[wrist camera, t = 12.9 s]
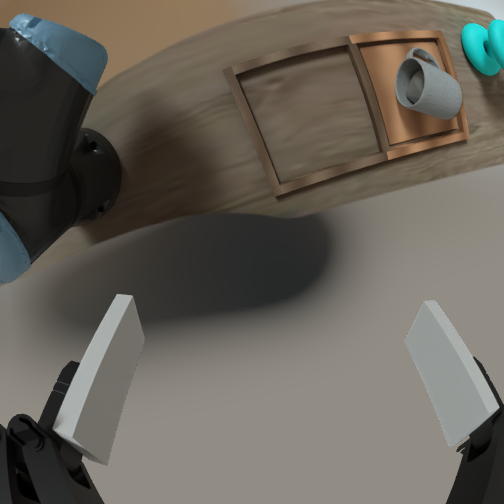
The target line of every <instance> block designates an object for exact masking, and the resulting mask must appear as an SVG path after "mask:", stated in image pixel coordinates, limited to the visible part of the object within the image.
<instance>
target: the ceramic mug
mask: <svg viewBox="0 0 504 504" xmlns="http://www.w3.org/2000/svg"><path fill="white" fill-rule="evenodd" d="M413 53H415V54H417V55H419V56H421V57H423V58H424V59H426V60H427V61H428V62H429V63H430V64H428V63H426V62H424V61H422V60H420V59H418V58H415V57H413ZM395 92H396V96H397V99H398V101H399V103H400V104H401V105H402V106H404V107H405V108H408V109H411V110H415V111H418V112H421V113H424V114H428V115H431V116H434V117H436V118H439V119H446V120H447V119H452V118H454V117H455V116H457V115H458V113H459V112H460V110H461V108H462V105H463V92H462V89H461V86H460V84H459V83H458V82H457V81H456V80H455V79H454V78H453V77H452V76H451V75H449V74H448V73H446V72H444V71H442V70H441V68H440V66H439V64H438V62H437V61H436V60H435V58H434V57H433V56H432V55H431V54H429V53H428V52H427V51H425V50H423V49H421V48H418V47H415V48H412V49H411V50H410V51H409V52H408V53H407V55H406V59H405V60H404V61H403V62H402V63H401V64H400V66H399V68H398V70H397V73H396V79H395Z"/></svg>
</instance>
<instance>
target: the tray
mask: <svg viewBox="0 0 504 504" xmlns="http://www.w3.org/2000/svg"><path fill="white" fill-rule="evenodd" d="M426 38H435V40H436V42H437V45H438V48H439V51H440V54H441V57H442V60H443V63H444V66H445V69H446V73H448V74H449V75H451V76H452V77H453V78H454V79H455V80H456V81H457V82H458V79H457V75H456V72H455V68H454V65H453V62H452V58H451V55H450V52H449V49H448V47H447V44H446V41H445V38H444V36H443V33H442V31H391V32H378V33H368V34H360V35H353V36H346V37H340V38H334V39H328V40H323V41H318V42H314V43H309V44H305V45H300V46H296V47H292V48H289V49H285V50H281V51H278V52H274V53H271V54H268V55H264V56H261V57H258V58H255V59H252V60H249V61H246V62H243V63H240V64H238V65H235V66H232V67H230V68H227V69H224V70H222V71H223V73H224V75H225V77H226V79H227V82H228V84H229V86H230V89H231V91H232V93H233V95H234V98H235V100H236V102H237V105H238V107H239V109H240V112H241V114H242V117H243V119H244V121H245V124H246V126H247V128H248V131H249V133H250V136H251V138H252V141H253V143H254V146H255V148H256V151H257V153H258V156H259V158H260V161H261V163H262V166H263V168H264V171H265V173H266V176H267V178H268V181H269V184H270V186H271V189H272V191H273V194H274V197H276V196H279V195H281V194H284V193H287V192H290V191H293V190H296V189H299V188H302V187H305V186H308V185H311V184H314V183H317V182H320V181H323V180H326V179H329V178H332V177H335V176H338V175H341V174H344V173H347V172H351V171H354V170H357V169H360V168H363V167H367V166H370V165H373V164H377V163H380V162H383V161H387V160H390V159H394V158H397V157H401V156H404V155H408V154H411V153H415V152H419V151H422V150H426V149H430V148H433V147H437V146H441V145H445V144H449V143H453V142H457V141H461V140H465V139H469V131H468V125H467V119H466V114H465V108H464V104H463V105H462V108H461V110H460V112H459V113H458V115H457V119H458V124H459V130H460V131H459V132H454V133H450V134H446V135H441V136H437V137H433V138H429V139H425V140H421V141H417V142H413V143H409V144H406V145H402V146H398V147H394V148H391V149H390V148H389V145H391V144H395V143H399V142H403V141H406V140H410V139H414V138H418V137H422V136H426V135H431V134H435V133H439V132H444V131H448V130H453V129H457V128H458V126H457V121H456V116H455V117H454V118H452V119H447V120H446V119H439V118H436V117H434V116H431V115H428V114H424V113H421V112H418V111H415V110H411V109H408V108H405V107H404V106H402V105H401V104H400V103H399V101H398V99H397V96H396V92H395V79H396V73H397V70H398V68H399V66H400V64H401V63H402V62H403V61H404V60H405V59H406V55H407V53H408V52H409V51H410V50H411V49H412V48H415V47H418V48H421V49H423V50H425V51H427V52H428V53H429V54H431V55H432V56H433V57H434V58H435V60H436V61H437V62H438V64H439V66H440V68H441V70H442V71H444V67H443V64H442V61H441V58H440V55H439V52H438V49H437V46H436V44H435V42H412V43H396V44H385V45H376V46H368V47H361V48H359V49H358V46H357V44H361V43H369V42H377V41H387V40H400V39H426ZM342 46H346V49H347V51H348V53H349V56H350V58H351V61H352V63H353V66H354V69H355V71H356V74H357V77H358V80H359V82H360V85H361V88H362V91H363V94H364V97H365V100H366V104H367V107H368V110H369V113H370V117H371V120H372V124H373V127H374V131H375V135H376V139H377V143H378V147H379V151H380V152H377V153H373V154H370V155H366V156H363V157H360V158H356V159H353V160H350V161H346V162H343V163H340V164H337V165H334V166H330V167H327V168H324V169H321V170H318V171H315V172H312V173H309V174H306V175H303V176H300V177H297V178H294V179H291V180H288V181H285V182H282V183H280V184H279V182H278V179H277V177H276V174H275V171H274V169H273V166H272V163H271V161H270V158H269V156H268V153H267V150H266V148H265V145H264V143H263V140H262V138H261V135H260V133H259V130H258V128H257V125H256V123H255V121H254V118H253V116H252V113H251V111H250V109H249V106H248V104H247V101H246V99H245V97H244V94H243V92H242V90H241V87H240V85H239V83H238V81H237V78H236V75H239V74H242V73H245V72H247V71H250V70H253V69H256V68H259V67H262V66H265V65H269V64H272V63H275V62H278V61H282V60H285V59H289V58H293V57H296V56H300V55H304V54H309V53H313V52H317V51H322V50H327V49H332V48H337V47H342ZM360 53H361V54H360ZM413 57H415V58H418V59H420V60H422V61H424V62H426V63H428V64H430V63H429V62H428V61H427V60H426V59H424V58H423V57H421V56H419V55H417V54H415V53H413ZM362 58H363V59H362ZM363 61H364V62H363ZM365 66H366V67H365ZM366 69H367V70H366ZM444 72H445V71H444ZM368 74H369V75H368ZM369 77H370V78H369ZM370 80H371V81H370ZM371 83H372V84H371ZM458 83H459V82H458ZM372 86H373V87H372ZM373 89H374V90H373ZM374 92H375V93H374ZM375 95H376V96H375ZM377 102H378V103H377ZM378 105H379V106H378ZM379 108H380V109H379ZM380 112H381V113H380ZM381 115H382V116H381ZM382 119H383V120H382ZM383 123H384V124H383ZM385 130H386V131H385ZM386 134H387V135H386ZM387 138H388V139H387ZM388 143H389V144H388Z"/></svg>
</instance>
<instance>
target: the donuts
mask: <svg viewBox="0 0 504 504" xmlns="http://www.w3.org/2000/svg"><path fill="white" fill-rule="evenodd" d="M461 38H462V44H463V48H464V51H465V53H466V55H467V57H468V59H469V60H470V62H471V63H472V65H473V66H474V67H475V68H476V69H477V70H478V71H480V72H481V73H483V74H485V75H489V76H492V75H495V74H497V73H498V72H499V70H500V68H501V67H502V69H503V70H504V21H502V20H494V21H492V22H491V23H490V25H489V27H488V31H487V30H486V29H485V28H484V27H482V26H480V25H478V24H474V23H470V24H467V25H466V26H465V27H464V28H463V30H462V35H461ZM483 45H484V46H485V49H486V52H487V53H486V52H485V49H484V46H483Z"/></svg>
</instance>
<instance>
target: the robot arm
mask: <svg viewBox="0 0 504 504" xmlns="http://www.w3.org/2000/svg"><path fill="white" fill-rule="evenodd" d="M9 26H10V28H0V283H10V282H12V281H14V280H15V279H16V278H18V277H19V276H20V275H21V274H23V273H24V272H25V271H27V270H28V269H29V268H30V266H31V264H32V263H33V262H34V261H35V260H36V259H37V258H38V257H39V256H40V255H41V254H42V253H43V252H45V251H46V250H47V249H48V248H49V247H50V246H51V245H52V244H53V243H54V242H55V241H56V240H57V239H58V238H59V237H61V236H62V235H63V234H64V233H65V232H66V231H67V230H68V229H70V228H72V227H76V226H80V225H84V224H89V223H91V222H94V221H96V220H97V219H99V218H100V217H101V216H103V215H104V214H105V213H106V212H107V211H108V210H109V209H110V208H111V207H112V205H113V204H114V202H115V200H116V198H117V196H118V193H119V189H120V182H121V172H120V165H119V161H118V158H117V155H116V153H115V151H114V149H113V147H112V146H111V144H110V143H109V142H108V140H107V139H106V138H105V137H104V136H102V135H101V134H100V133H98V132H96V131H94V130H91V129H88V128H81V126H82V123H83V121H84V118H85V115H86V113H87V110H88V108H89V106H90V103H91V101H92V99H93V96H95V95H96V92H97V91H96V88H97V86H98V83H99V81H100V78H101V76H102V74H103V71H104V69H105V67H106V64H107V61H108V54H107V51H106V49H105V48H104V46H102V45H101V44H100V43H98V42H96V41H95V40H93V39H91V38H89V37H87V36H86V35H83V34H81V33H79V32H77V31H75V30H72V29H70V28H68V27H66V26H63V25H60V24H58V23H55V22H52V21H49V20H43V19H42V18H37V17H34V16H32V15H27V14H19V15H17V16H16V17H15V18H14V19H13V20H12V21H11V22H10V24H9ZM144 343H145V337H144V334H143V331H142V328H141V324H140V321H139V317H138V313H137V309H136V306H135V302H134V298H133V296H132V295H121V294H117V295H116V297H115V299H114V301H113V302H112V304H111V306H110V308H109V309H108V311H107V313H106V315H105V317H104V318H103V320H102V322H101V324H100V326H99V328H98V330H97V331H96V333H95V335H94V337H93V339H92V341H91V343H90V345H89V347H88V349H87V351H86V353H85V355H84V357H83V359H82V361H81V363H78V362H74V361H70V362H69V363H68V364H67V365H66V366H65V367H64V368H63V369H62V371H61V373H60V375H59V377H58V379H57V383H55V385H54V388H53V391H52V392H51V394H50V396H49V399H48V401H47V403H46V405H45V408H44V410H43V412H42V415H41V417H40V420H39V421H38V423H36V422H35V421H34V420H33V419H32V418H31V417H30V416H28V415H26V414H17V415H16V416H14V417H13V418H12V419H11V420H10V421H9V424H8V427H7V429H5V428H4V427H3V426H2V425H1V424H0V504H104V502H103V500H102V498H101V497H100V495H99V493H98V491H97V489H96V488H95V486H94V484H93V482H92V480H91V478H90V476H89V474H88V472H87V470H86V468H85V466H84V464H83V462H82V461H81V460H82V456H83V455H84V456H85V457H87V458H88V459H89V460H91V461H94V462H97V463H100V464H103V465H106V466H107V465H108V461H109V457H110V453H111V448H112V445H113V441H114V438H115V434H116V430H117V427H118V423H119V419H120V416H121V413H122V409H123V406H124V403H125V399H126V396H127V393H128V390H129V387H130V384H131V381H132V378H133V375H134V371H135V368H136V366H137V362H138V360H139V357H140V354H141V351H142V348H143V346H144ZM404 343H405V345H406V347H407V349H408V351H409V353H410V355H411V357H412V359H413V362H414V364H415V366H416V368H417V370H418V372H419V374H420V377H421V379H422V381H423V383H424V385H425V388H426V390H427V392H428V395H429V397H430V400H431V402H432V404H433V407H434V409H435V412H436V414H437V417H438V419H439V422H440V424H441V427H442V430H443V432H444V435H445V438H446V441H447V444H448V447H450V446H452V445H454V444H456V443H459V442H461V441H462V440H463V439H464V438H466V437H467V436H468V435H469V436H470V438H469V439H468V440H467V441H466V442H464V443H463V444H462V445H460V446H459V447H458V449H457V451H456V452H459V451H460V450H461V449H463V448H464V447H465V449H463V450H462V451H461V452H460V453H462V454H463V457H462V460H461V464H460V467H459V470H458V473H457V476H456V479H455V482H454V485H453V487H452V490H451V492H450V495H449V497H448V500H447V502H446V504H504V404H503V403H502V401H501V399H500V397H499V395H498V393H497V391H496V389H495V387H494V385H493V383H492V382H491V381H490V378H489V376H488V374H486V371H485V369H484V367H483V365H482V364H481V363H480V362H479V361H478V360H477V359H476V358H475V357H472V355H471V354H470V352H469V351H468V349H467V347H466V345H465V344H464V342H463V341H462V339H461V338H460V336H459V335H458V333H457V331H456V330H455V328H454V327H453V325H452V324H451V322H450V321H449V320H448V318H447V317H446V315H445V314H444V312H443V311H442V309H441V308H440V307H439V305H438V304H437V302H436V301H435V300H433V301H424V302H423V304H422V306H421V308H420V311H419V312H418V315H417V317H416V319H415V321H414V323H413V325H412V327H411V328H410V330H409V332H408V334H407V336H406V338H405V340H404Z"/></svg>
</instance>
